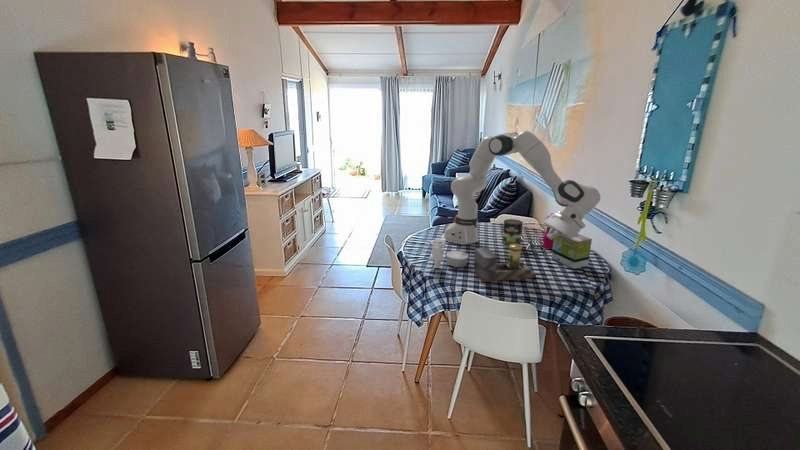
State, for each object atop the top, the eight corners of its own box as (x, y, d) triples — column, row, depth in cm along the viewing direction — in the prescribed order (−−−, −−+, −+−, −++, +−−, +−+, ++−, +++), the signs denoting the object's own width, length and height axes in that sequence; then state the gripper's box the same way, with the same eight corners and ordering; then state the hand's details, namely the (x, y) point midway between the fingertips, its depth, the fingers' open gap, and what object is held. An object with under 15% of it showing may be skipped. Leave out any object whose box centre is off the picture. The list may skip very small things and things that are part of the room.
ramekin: (471, 268, 185) (471, 258, 183) (449, 269, 183) (449, 259, 181) (464, 259, 195) (464, 250, 194) (443, 260, 193) (443, 251, 192)
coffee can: (519, 249, 208) (522, 225, 204) (500, 246, 212) (502, 223, 208) (521, 243, 217) (523, 220, 213) (503, 241, 221) (505, 218, 217)
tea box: (550, 258, 195) (553, 232, 190) (564, 255, 199) (568, 229, 194) (573, 269, 182) (577, 241, 177) (588, 266, 185) (592, 238, 181)
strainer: (445, 270, 182) (446, 241, 177) (431, 271, 181) (432, 242, 177) (443, 264, 188) (443, 236, 184) (429, 265, 188) (429, 237, 183)
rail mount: (482, 282, 169) (484, 258, 165) (473, 271, 180) (475, 248, 176) (536, 278, 172) (539, 254, 169) (524, 268, 184) (526, 245, 180)
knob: (510, 273, 173) (512, 248, 169) (504, 267, 179) (506, 243, 175) (522, 272, 174) (524, 247, 170) (516, 267, 179) (518, 243, 176)
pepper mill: (556, 249, 207) (560, 214, 201) (542, 248, 209) (546, 214, 203) (554, 245, 214) (558, 211, 208) (540, 244, 215) (544, 210, 209)
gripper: (554, 206, 181) (533, 226, 183) (579, 218, 162) (556, 240, 163) (561, 215, 183) (541, 235, 185) (587, 227, 164) (564, 249, 165)
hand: (548, 237), depth 174 cm, fingers closed
